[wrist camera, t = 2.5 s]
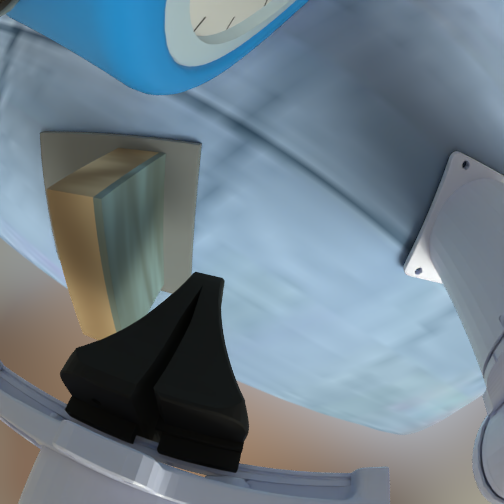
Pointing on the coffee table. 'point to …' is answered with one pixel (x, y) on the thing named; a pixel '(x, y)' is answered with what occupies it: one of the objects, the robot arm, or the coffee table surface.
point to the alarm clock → (156, 35)
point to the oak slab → (111, 237)
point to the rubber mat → (175, 185)
